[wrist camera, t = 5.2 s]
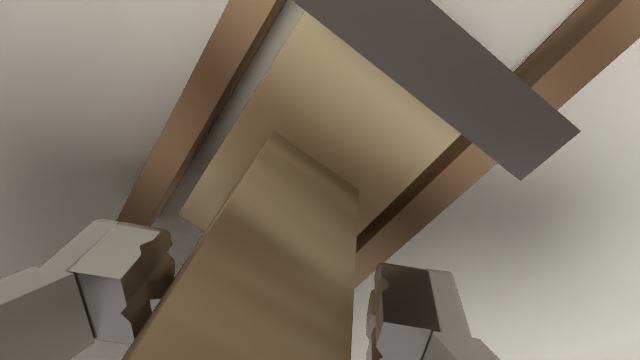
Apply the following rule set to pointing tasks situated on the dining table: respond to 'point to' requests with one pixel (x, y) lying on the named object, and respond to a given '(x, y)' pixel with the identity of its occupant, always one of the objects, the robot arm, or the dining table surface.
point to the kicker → (332, 175)
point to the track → (437, 179)
